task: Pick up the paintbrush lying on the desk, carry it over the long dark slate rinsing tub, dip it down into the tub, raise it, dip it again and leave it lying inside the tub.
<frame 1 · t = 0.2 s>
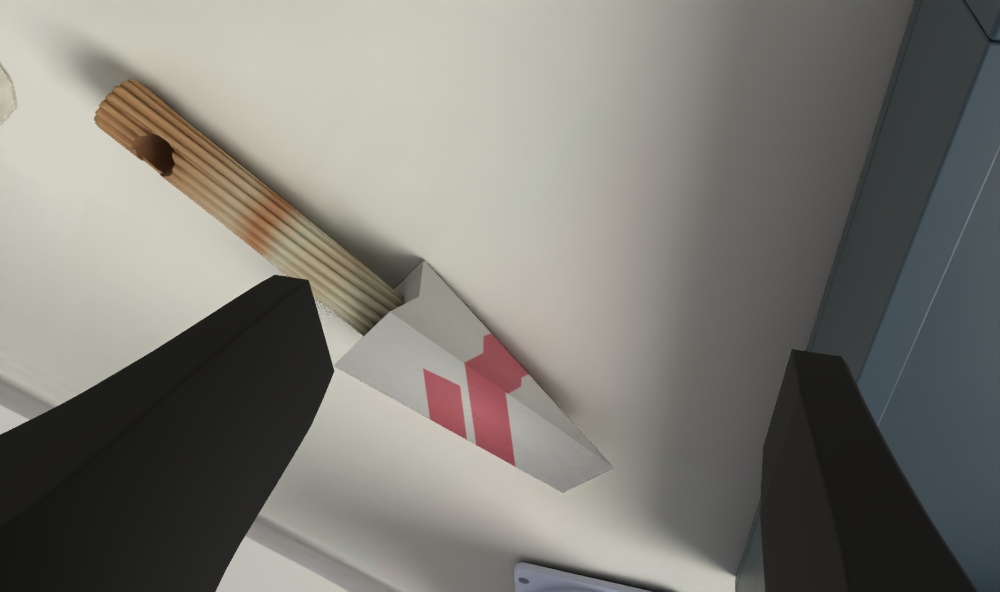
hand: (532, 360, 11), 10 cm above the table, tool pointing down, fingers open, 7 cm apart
paintbrush: (390, 280, 25), on the table
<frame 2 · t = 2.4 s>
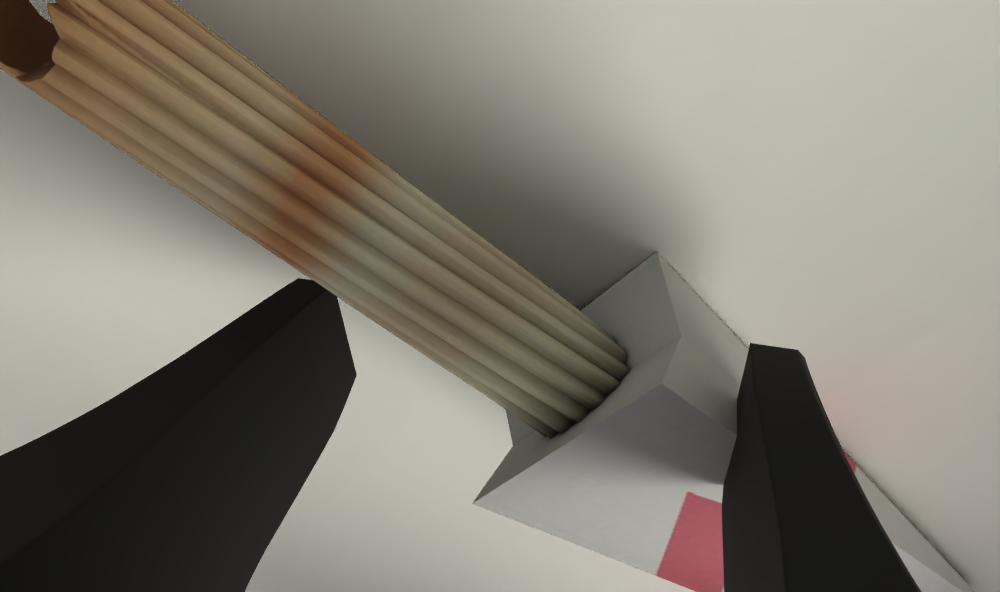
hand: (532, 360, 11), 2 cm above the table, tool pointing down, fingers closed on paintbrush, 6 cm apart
paintbrush: (557, 302, 12), on the table, touching gripper
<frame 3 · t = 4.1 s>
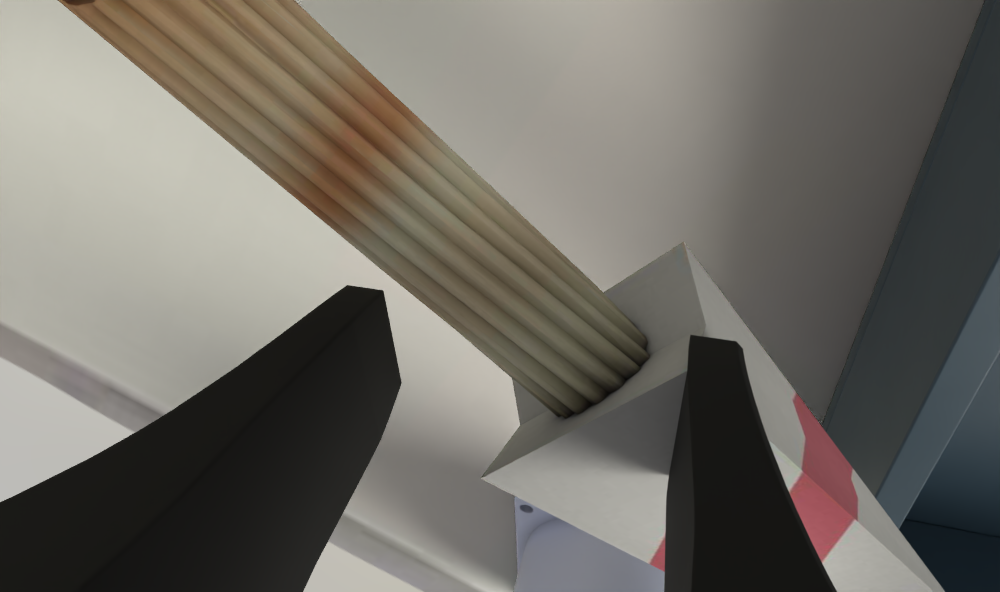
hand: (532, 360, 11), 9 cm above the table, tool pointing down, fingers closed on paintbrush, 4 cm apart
paintbrush: (575, 285, 12), point 7 cm above the table, touching gripper
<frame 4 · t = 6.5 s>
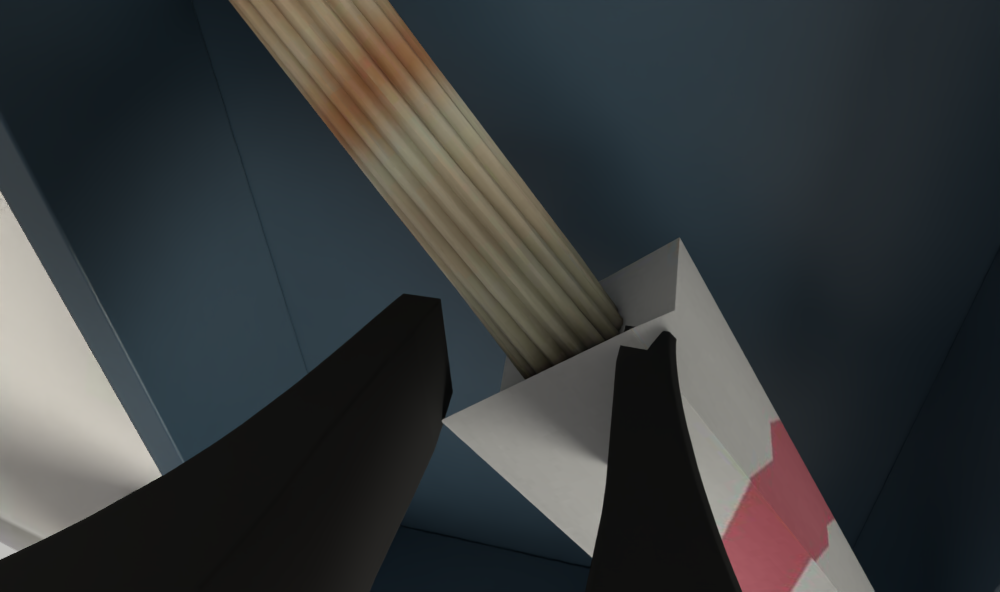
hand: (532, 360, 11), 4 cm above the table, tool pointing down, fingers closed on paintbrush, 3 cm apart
tub: (580, 208, 14), on the table
paintbrush: (579, 270, 12), point 2 cm above the table, touching gripper, tub
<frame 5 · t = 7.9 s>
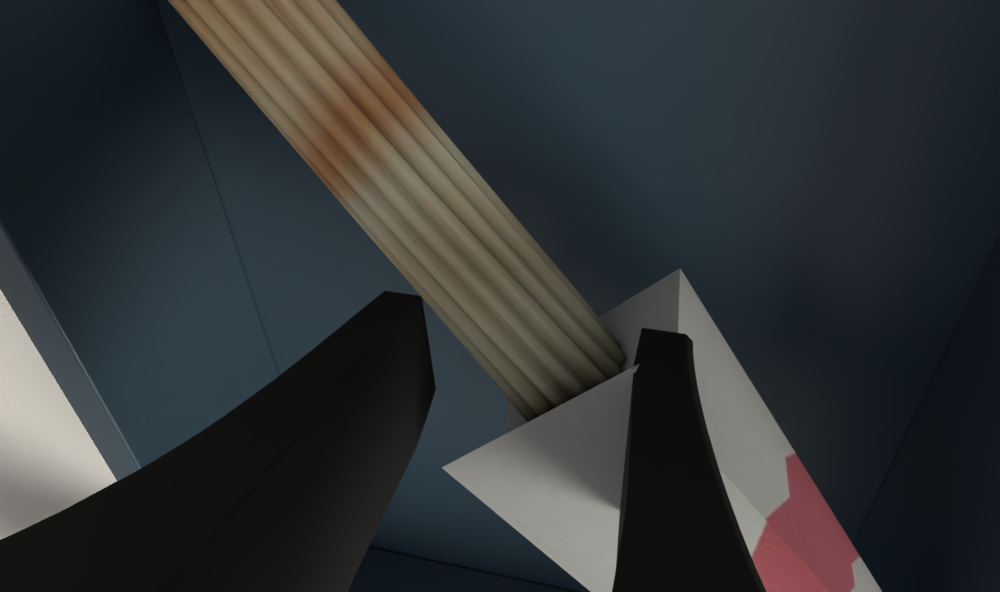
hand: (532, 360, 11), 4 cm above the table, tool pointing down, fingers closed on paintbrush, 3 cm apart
tub: (561, 230, 14), on the table
paintbrush: (579, 305, 12), point 2 cm above the table, touching gripper, tub
when the fingers open (4 cm above the table, at t = 9.1 s): paintbrush stays where it is, resting on tub.
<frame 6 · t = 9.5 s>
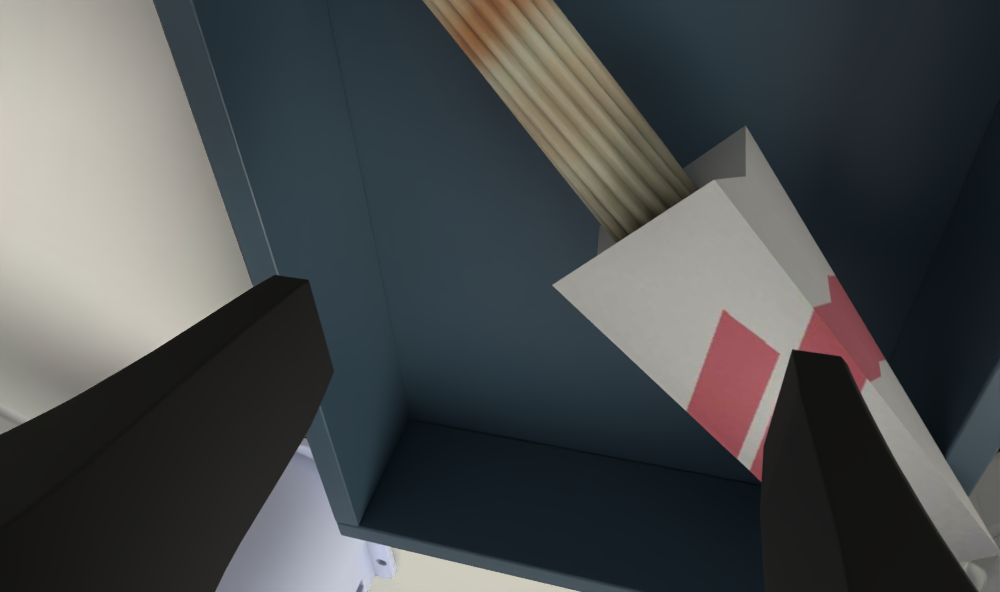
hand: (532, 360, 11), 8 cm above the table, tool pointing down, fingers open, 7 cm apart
tub: (633, 112, 17), on the table
paintbrush: (658, 166, 15), point 2 cm above the table, touching tub
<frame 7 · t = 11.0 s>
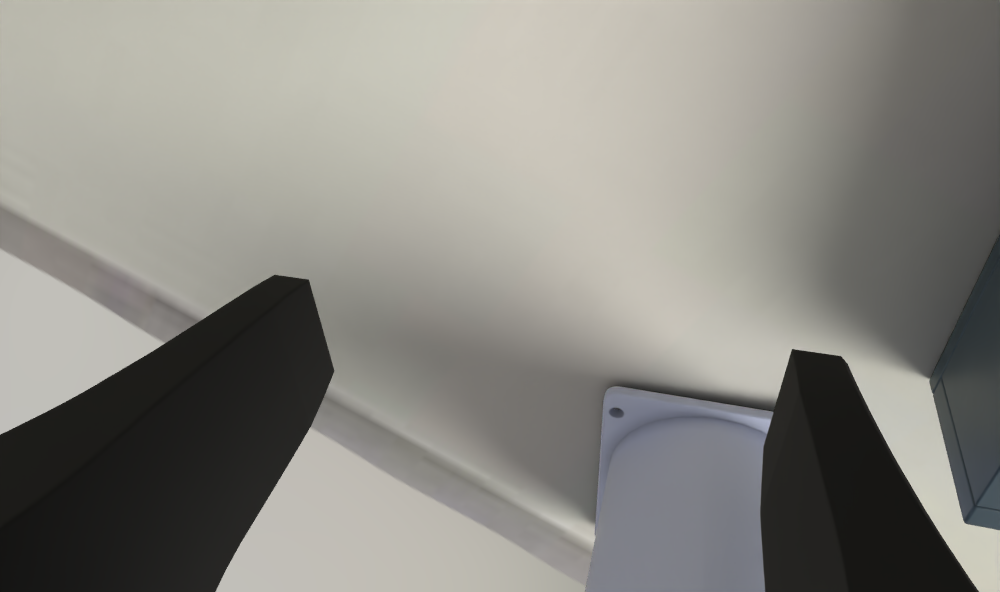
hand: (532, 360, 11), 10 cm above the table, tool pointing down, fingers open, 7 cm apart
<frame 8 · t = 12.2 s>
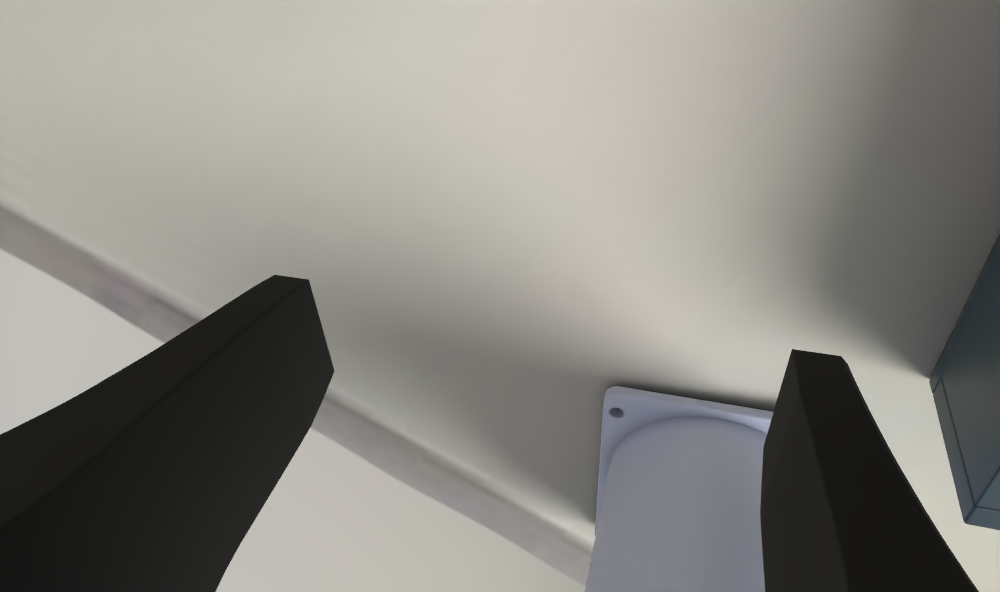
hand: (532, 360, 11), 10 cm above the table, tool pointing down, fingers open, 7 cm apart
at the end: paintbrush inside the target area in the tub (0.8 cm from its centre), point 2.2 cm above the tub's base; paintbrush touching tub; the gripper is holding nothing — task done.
